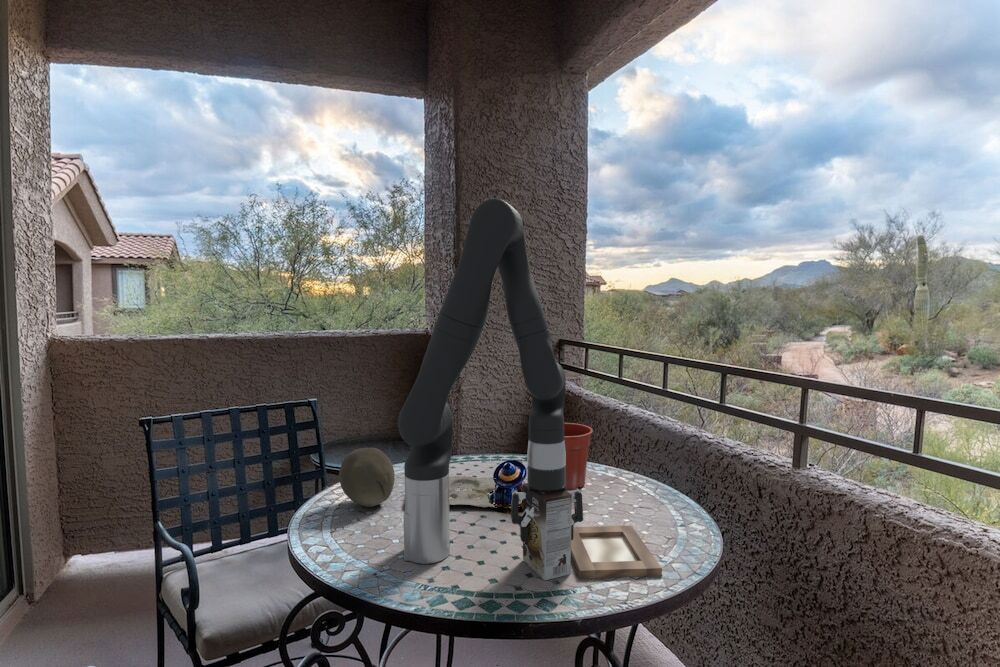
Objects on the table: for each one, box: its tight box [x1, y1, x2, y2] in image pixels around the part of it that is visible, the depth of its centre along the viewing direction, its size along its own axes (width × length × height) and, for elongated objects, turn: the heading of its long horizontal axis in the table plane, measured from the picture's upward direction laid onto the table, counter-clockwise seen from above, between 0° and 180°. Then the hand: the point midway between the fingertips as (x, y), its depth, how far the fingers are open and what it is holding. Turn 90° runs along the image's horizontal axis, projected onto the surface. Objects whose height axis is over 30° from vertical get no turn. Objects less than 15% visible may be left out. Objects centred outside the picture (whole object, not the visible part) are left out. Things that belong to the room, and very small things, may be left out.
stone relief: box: [449, 475, 496, 508], centre depth 141 cm, size 32×3×20 cm
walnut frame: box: [571, 524, 663, 579], centre depth 109 cm, size 16×19×2 cm
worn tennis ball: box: [338, 447, 396, 508], centre depth 134 cm, size 14×14×15 cm
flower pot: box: [564, 422, 593, 491], centre depth 150 cm, size 16×16×16 cm
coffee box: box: [522, 482, 573, 581], centre depth 103 cm, size 9×6×16 cm
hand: (546, 542), depth 103 cm, fingers closed on coffee box, 8 cm apart
